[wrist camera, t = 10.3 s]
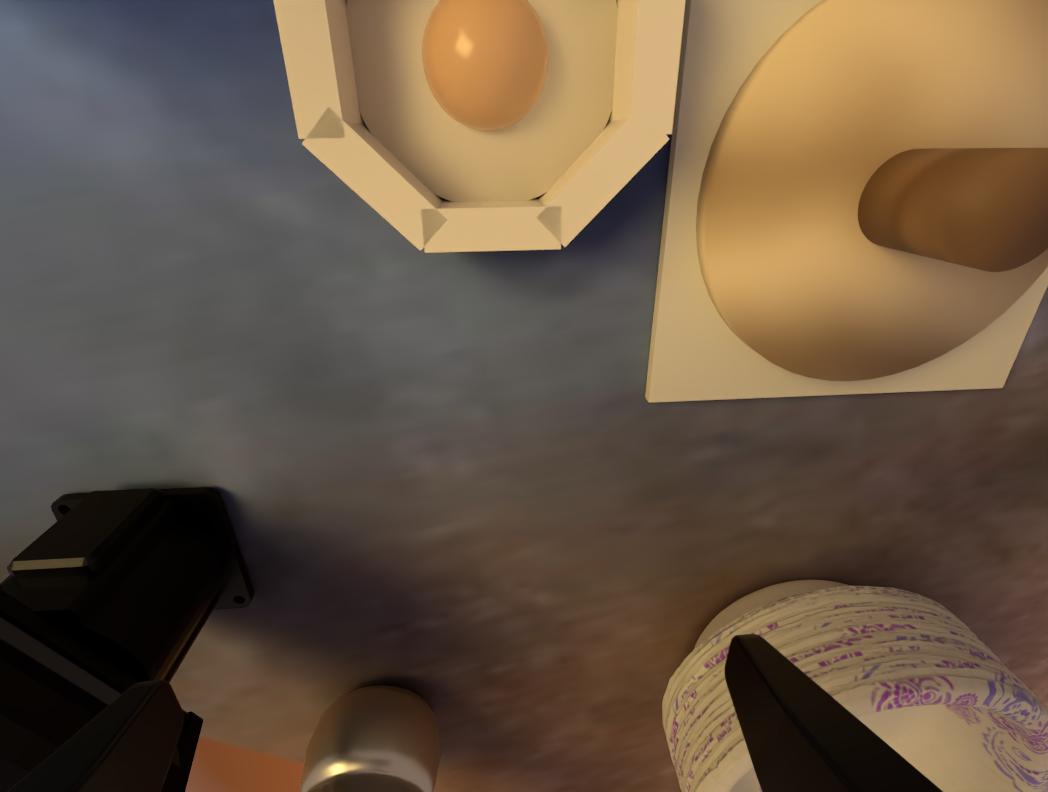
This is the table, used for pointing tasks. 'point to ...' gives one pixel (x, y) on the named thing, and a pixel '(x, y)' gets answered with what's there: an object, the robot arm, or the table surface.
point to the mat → (681, 296)
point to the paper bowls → (865, 688)
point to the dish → (483, 109)
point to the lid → (880, 184)
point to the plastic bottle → (374, 744)
